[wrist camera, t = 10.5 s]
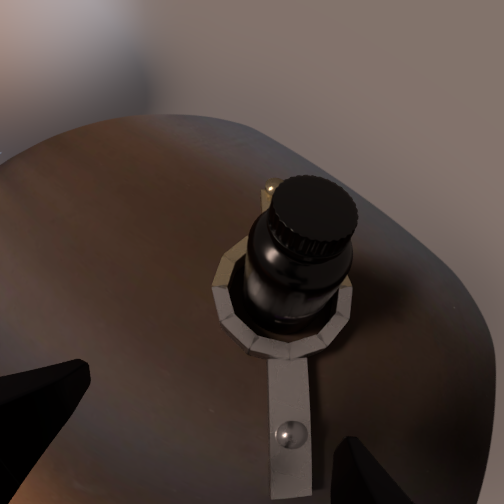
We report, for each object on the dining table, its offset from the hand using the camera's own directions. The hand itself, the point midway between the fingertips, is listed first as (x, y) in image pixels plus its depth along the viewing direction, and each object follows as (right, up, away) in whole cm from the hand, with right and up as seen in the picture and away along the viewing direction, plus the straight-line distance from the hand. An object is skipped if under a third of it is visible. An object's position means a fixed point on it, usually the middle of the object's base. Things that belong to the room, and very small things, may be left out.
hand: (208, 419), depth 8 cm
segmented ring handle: (+4, -6, +12) cm, 14 cm away
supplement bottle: (+4, +1, +17) cm, 17 cm away
